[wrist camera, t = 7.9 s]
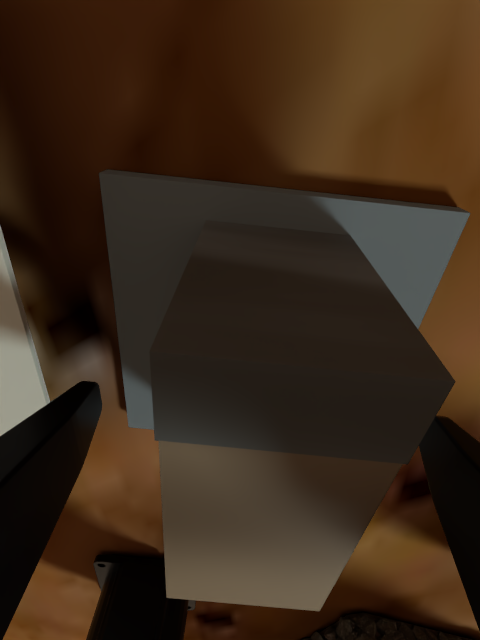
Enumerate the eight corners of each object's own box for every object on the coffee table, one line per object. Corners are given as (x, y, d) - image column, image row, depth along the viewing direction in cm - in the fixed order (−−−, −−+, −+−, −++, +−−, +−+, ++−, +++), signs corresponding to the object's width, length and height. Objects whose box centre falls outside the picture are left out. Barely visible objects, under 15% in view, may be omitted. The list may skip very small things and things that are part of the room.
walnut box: (297, 427, 14) (321, 613, 9) (197, 418, 14) (164, 599, 9) (350, 235, 10) (455, 381, 5) (206, 220, 10) (149, 351, 5)
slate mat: (360, 438, 15) (363, 449, 15) (133, 416, 15) (128, 427, 14) (459, 207, 10) (470, 213, 9) (107, 169, 10) (98, 172, 9)
